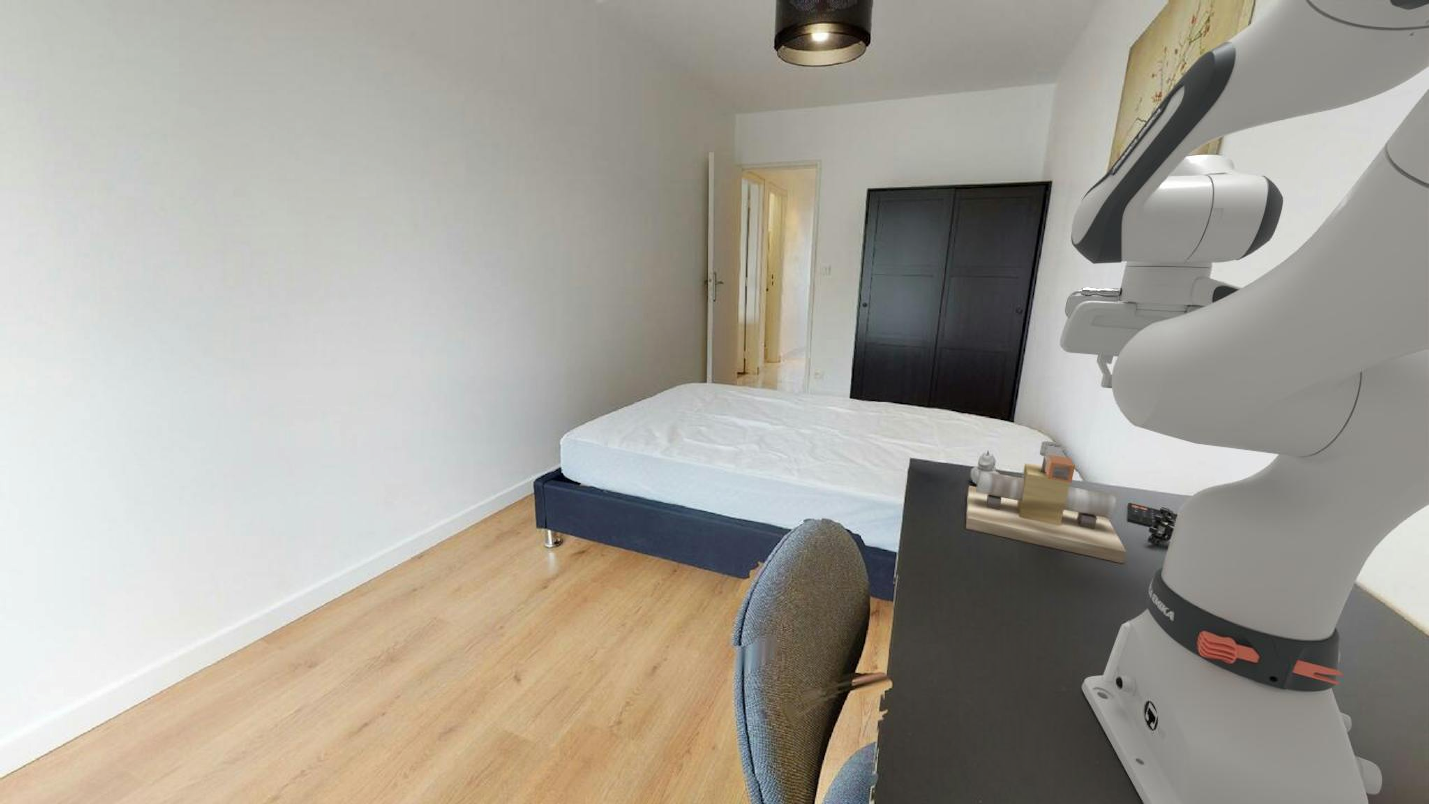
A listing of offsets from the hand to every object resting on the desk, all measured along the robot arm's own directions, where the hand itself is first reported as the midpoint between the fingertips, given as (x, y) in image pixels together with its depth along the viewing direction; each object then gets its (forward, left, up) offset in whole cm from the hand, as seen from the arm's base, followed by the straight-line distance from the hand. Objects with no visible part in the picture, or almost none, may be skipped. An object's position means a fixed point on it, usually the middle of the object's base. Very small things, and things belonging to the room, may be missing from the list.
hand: (1136, 390), depth 73 cm
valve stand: (+10, +7, -27) cm, 30 cm away
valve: (+10, -15, -28) cm, 33 cm away
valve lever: (+5, +7, -14) cm, 17 cm away
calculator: (+24, -15, -28) cm, 40 cm away
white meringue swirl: (+26, +15, -27) cm, 41 cm away
